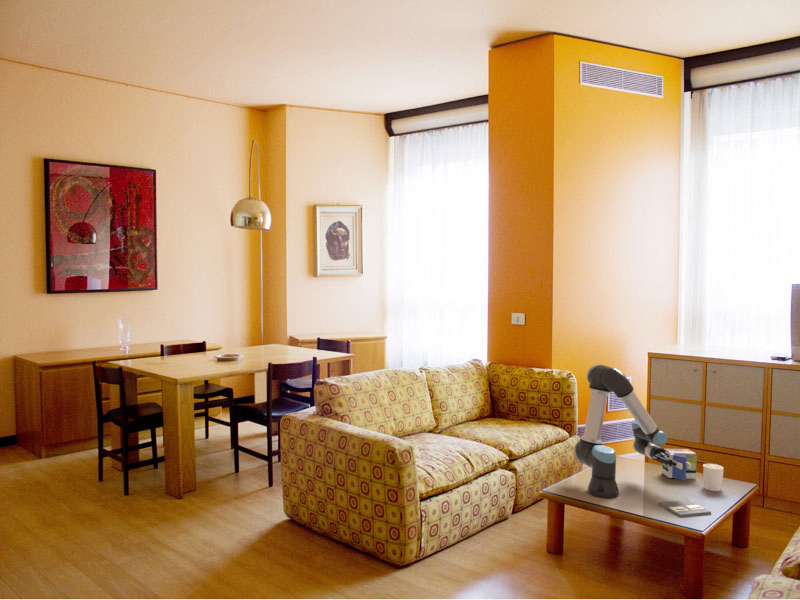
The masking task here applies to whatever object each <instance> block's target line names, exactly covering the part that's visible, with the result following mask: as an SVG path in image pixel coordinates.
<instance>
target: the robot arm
mask: <svg viewBox="0 0 800 600" xmlns="http://www.w3.org/2000/svg"><path fill="white" fill-rule="evenodd" d="M586 379H587V381H588V383H589V386H588V389H589V391H590V397H589V398H590V399H589V403H588V408H587V413H586V414H587V415H586V421H585V427H584V432H583V434H582V435H581V437H580V438H579V441H577V443H576V444H575V445H574V449H573V454H574V457H575V458H576V459H577V461H578V462H580V463H581V464H583V465H585V466H587V467H590V468H591V477H590V481H589V483H588V486H587V492H588V494H590V495H591V496H594V497H599V498H602V497H603V498H602V499H614V498H617V497H619V493H620V492H619V487H618V483H617V481H616V472H617V468H616V467H617V453H616V450H615V449H613V448H612V447H610V446H606V445H603V441H602V439H601V435H602V430H603V425H604V417H605V413H606V407H607V401H608V396H609V395H610V394H611V393H613V394H615V396H616V398H618V399H620V400H621V401H622V403H623V404H624V406H625V407H626V409H627V411H629V413H630V414H631V415H632V417H633V419H634V420H633V421H632V422H631V429H632V433H633V437H634V441H633V445H632V447H633V450H634V451H635V452H637V453H638V454H640V455H644V456H646V457H648V458H650V459H651V460H652V461H656V462H658V463H660V464H662V463H663V464H665V465H668V464H669V466H670V467H671V466H675V467H677V468H679V469H682V464H681V463H679V462H677V461H675V460H669V453H667V452H666V451H665V450H664V449H665V448H663V447H662V446H665V445H666V443H667V442H668V435H667V434H666V433H665V432H664V431H662V430H660V428H659V426H657V424H656V423H655V421H654V420H653V418H652V416H651V415H650V414H649V412H648V410H647V409H646V407H645V406H644V405H643V403H642V402H641V400H640V399H639V397H638V396H637V393H636V392H634V386H633V385H632V383H631V382H630V380H629V379H628V378H627V376H626V375H625V374H624V373H623V372H622V371H621V370H619V369H618V368H615V367H612V366H608V365H604V364H595V365H593V366H591V367H590V368H588V371H587V373H586ZM673 454H675V453H673ZM686 468H688V469H691V463H689V462H686Z"/></svg>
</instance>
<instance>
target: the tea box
mask: <svg viewBox="0 0 800 600" xmlns="http://www.w3.org/2000/svg"><path fill="white" fill-rule="evenodd" d="M663 449H664V450H665V451H666V452H667V453H669V454H671V453H675V454H678V455H685V456H687V462H689V463H691V469H688V468H686V479H685V480H696V479H697V477H696V476H697V464H698V463H697V462H698V461H697V460H698V454H697V453H696V452H694V451H692V450H690V449H687V448H663ZM661 465H662V466H661V474H662V473H663V474H662V475H664V476H665V475H666V476H667V477H666V476H665V477H666V478H668V469H669V464H668V465H665V464H663V463H661ZM669 478H672V477H669ZM669 478H668V479H669ZM675 479H676V478H675Z"/></svg>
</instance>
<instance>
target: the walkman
mask: <svg viewBox="0 0 800 600" xmlns="http://www.w3.org/2000/svg"><path fill="white" fill-rule="evenodd" d="M669 460H675V461H677V462H679V463H681V464H682V469H679V468H677V467H675V466H671V467H670V466H669V469H668V477H672V478H676V479H677V480H681V481H685V480H687V479H686V462H687V456H685V455H678V454H673V453H671V454H669ZM668 477H667V478H668Z"/></svg>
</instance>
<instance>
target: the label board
mask: <svg viewBox="0 0 800 600" xmlns="http://www.w3.org/2000/svg"><path fill="white" fill-rule="evenodd" d="M657 505H658V506H659V505H660V506H659V507H661V506H662V507H661V508H663V507H664V508H663V509H665V510H667V511H668V510H669V511H668V512H671V513H672V514H674V515H675V516H678V517H680V518H685V517H694V516H695V517H696V516H705V515H707V514H708V515H711V514H712V511H711V510H709V509H707V508H705V507H703V506H700V505H699V504H696V503H695V502H693V501H690V500H689V499H679V500H677V499H676V500H669V501H658V502H657ZM708 515H707V516H708Z"/></svg>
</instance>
